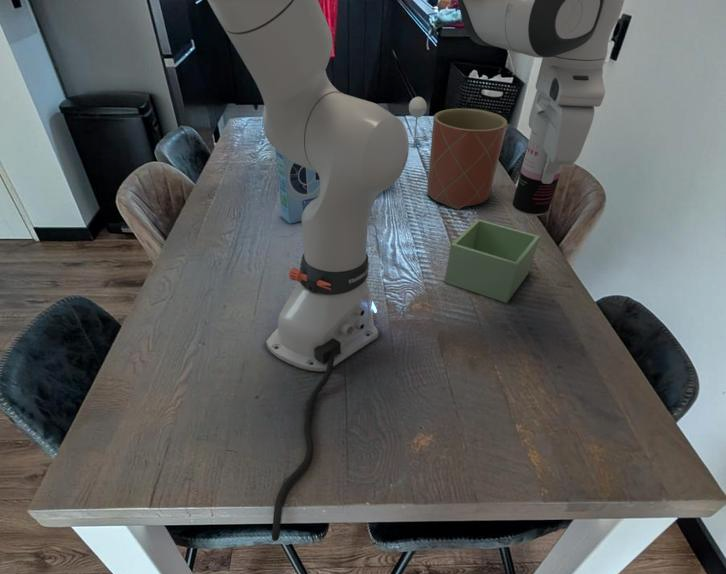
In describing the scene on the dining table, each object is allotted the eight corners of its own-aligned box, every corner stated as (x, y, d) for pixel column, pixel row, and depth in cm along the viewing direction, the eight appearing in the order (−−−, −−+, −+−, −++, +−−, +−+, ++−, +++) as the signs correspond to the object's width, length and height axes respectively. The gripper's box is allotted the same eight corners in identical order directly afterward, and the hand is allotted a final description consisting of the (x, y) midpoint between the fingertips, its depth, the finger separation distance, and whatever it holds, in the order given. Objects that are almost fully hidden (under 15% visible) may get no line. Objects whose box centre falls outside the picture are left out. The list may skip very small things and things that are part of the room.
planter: (457, 179, 147) (470, 104, 132) (504, 200, 137) (523, 122, 122) (411, 192, 139) (418, 114, 124) (456, 216, 129) (470, 135, 114)
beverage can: (542, 201, 89) (570, 110, 78) (552, 217, 85) (583, 122, 74) (508, 200, 89) (531, 108, 78) (516, 216, 84) (542, 121, 73)
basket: (506, 303, 101) (517, 264, 94) (444, 282, 106) (450, 244, 99) (528, 273, 109) (540, 236, 103) (470, 255, 114) (477, 218, 108)
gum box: (343, 201, 134) (342, 108, 117) (352, 208, 131) (353, 113, 114) (280, 217, 126) (270, 119, 109) (289, 225, 123) (280, 125, 106)
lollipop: (402, 145, 167) (406, 95, 156) (416, 143, 169) (421, 93, 158) (410, 150, 163) (415, 100, 152) (425, 148, 165) (431, 98, 154)
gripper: (533, 61, 79) (512, 151, 89) (563, 94, 65) (534, 196, 75) (571, 63, 79) (545, 152, 89) (609, 96, 65) (574, 198, 75)
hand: (540, 173), depth 82 cm, fingers closed on beverage can, 6 cm apart
